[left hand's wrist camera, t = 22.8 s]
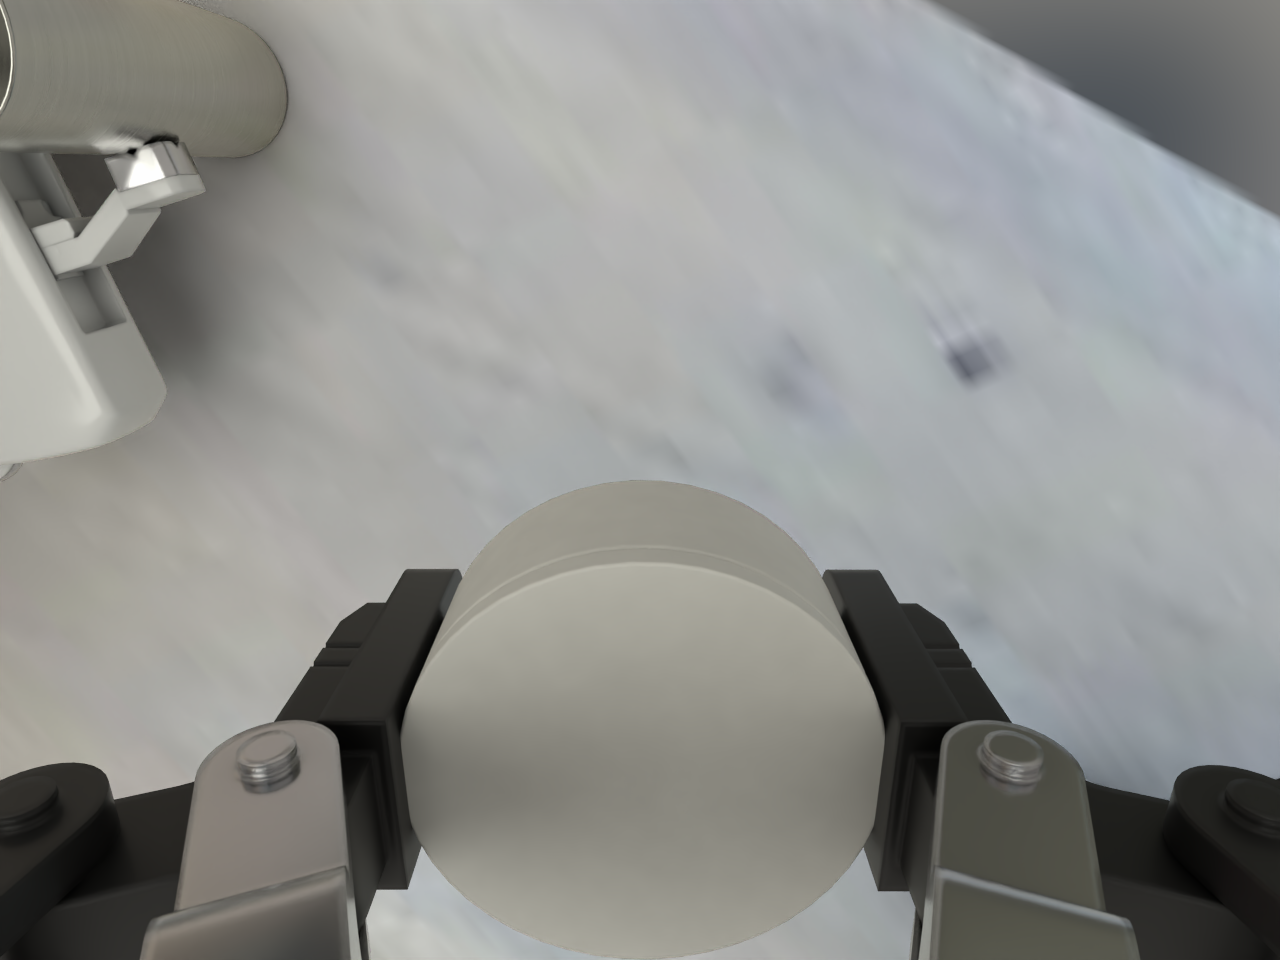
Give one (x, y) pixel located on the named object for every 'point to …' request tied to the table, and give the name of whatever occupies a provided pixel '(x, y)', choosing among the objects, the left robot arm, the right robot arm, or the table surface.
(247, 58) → the cylinder
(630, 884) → the lid
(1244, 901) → the left robot arm
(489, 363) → the table surface
